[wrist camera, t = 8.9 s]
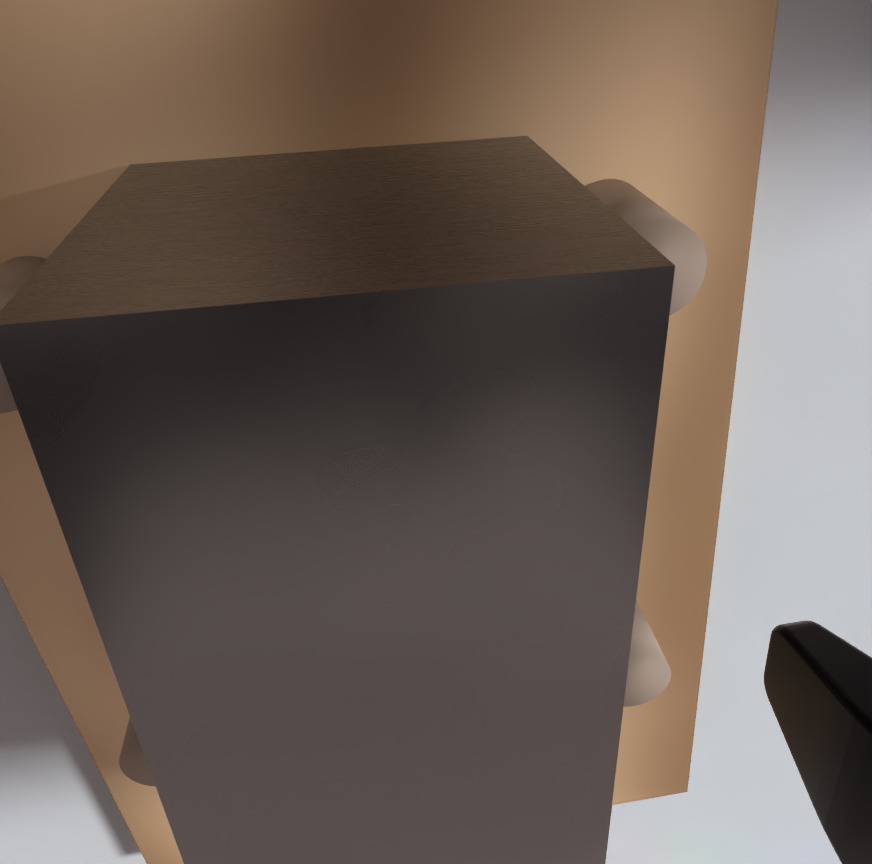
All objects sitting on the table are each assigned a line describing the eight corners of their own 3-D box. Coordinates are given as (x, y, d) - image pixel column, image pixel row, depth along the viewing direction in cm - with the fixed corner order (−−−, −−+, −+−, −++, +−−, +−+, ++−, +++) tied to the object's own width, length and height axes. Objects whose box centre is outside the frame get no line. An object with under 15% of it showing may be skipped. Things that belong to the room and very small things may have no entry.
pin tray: (780, -426, 9) (977, -586, 6) (670, 753, 19) (724, 877, 16) (-390, -322, 8) (-728, -454, 5) (165, 842, 18) (141, 986, 16)
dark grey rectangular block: (526, 135, 10) (674, 265, 6) (519, 674, 15) (595, 948, 11) (129, 164, 10) (-14, 325, 6) (259, 708, 15) (236, 1005, 11)
